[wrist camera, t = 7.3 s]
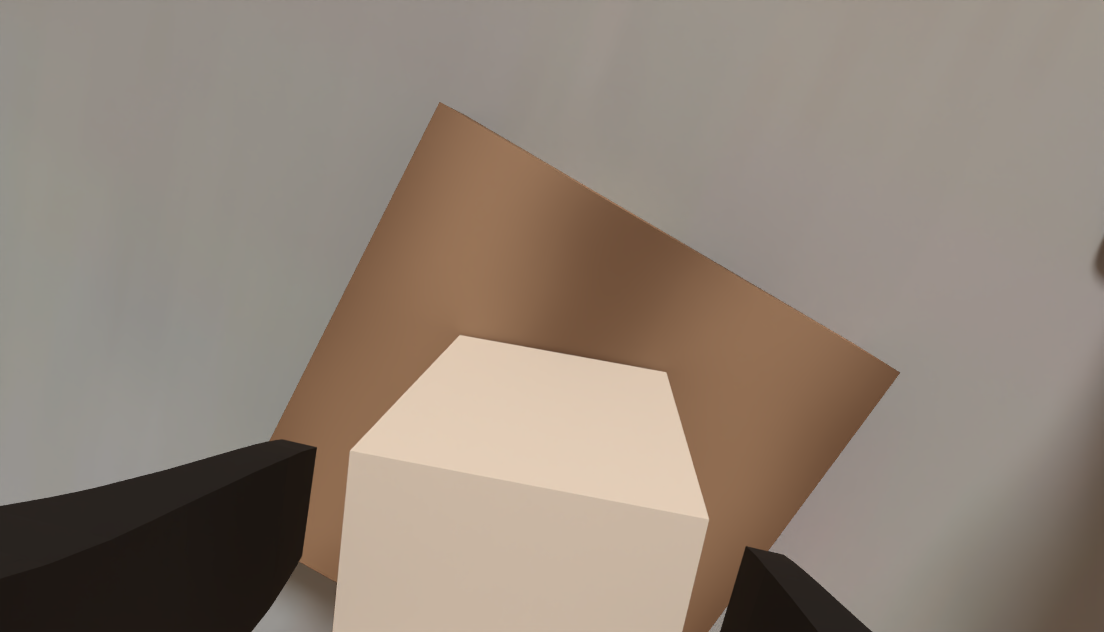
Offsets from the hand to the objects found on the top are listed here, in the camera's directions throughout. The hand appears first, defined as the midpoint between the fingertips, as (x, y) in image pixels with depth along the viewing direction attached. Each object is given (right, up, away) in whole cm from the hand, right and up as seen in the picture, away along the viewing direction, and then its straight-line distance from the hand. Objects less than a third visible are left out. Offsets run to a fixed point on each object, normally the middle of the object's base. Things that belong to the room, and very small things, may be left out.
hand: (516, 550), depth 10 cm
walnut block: (+1, +1, +7) cm, 7 cm away
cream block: (0, +1, +4) cm, 4 cm away
